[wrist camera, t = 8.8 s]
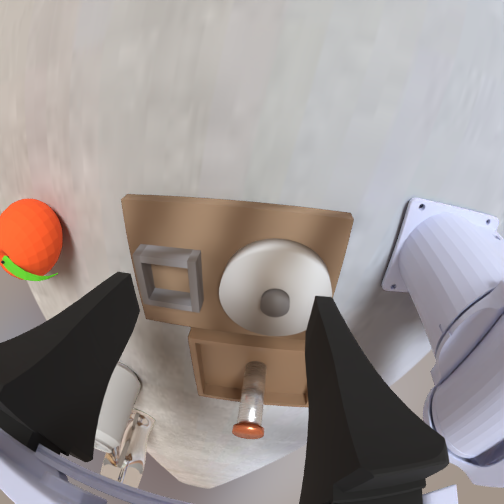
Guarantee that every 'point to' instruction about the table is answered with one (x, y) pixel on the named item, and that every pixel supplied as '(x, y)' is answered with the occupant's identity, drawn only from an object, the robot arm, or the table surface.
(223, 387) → the tray
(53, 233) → the clementine
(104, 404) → the can
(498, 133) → the table surface
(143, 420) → the beer glass
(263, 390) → the lock pin
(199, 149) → the table surface
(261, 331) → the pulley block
